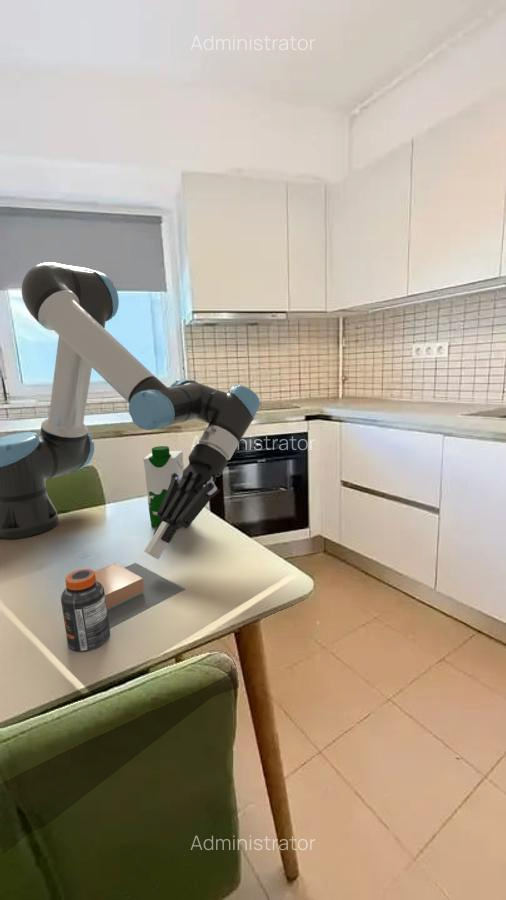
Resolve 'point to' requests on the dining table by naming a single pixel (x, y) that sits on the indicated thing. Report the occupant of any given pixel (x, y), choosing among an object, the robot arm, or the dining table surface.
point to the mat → (143, 595)
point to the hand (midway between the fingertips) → (151, 555)
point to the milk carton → (160, 477)
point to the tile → (119, 585)
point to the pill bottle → (84, 611)
